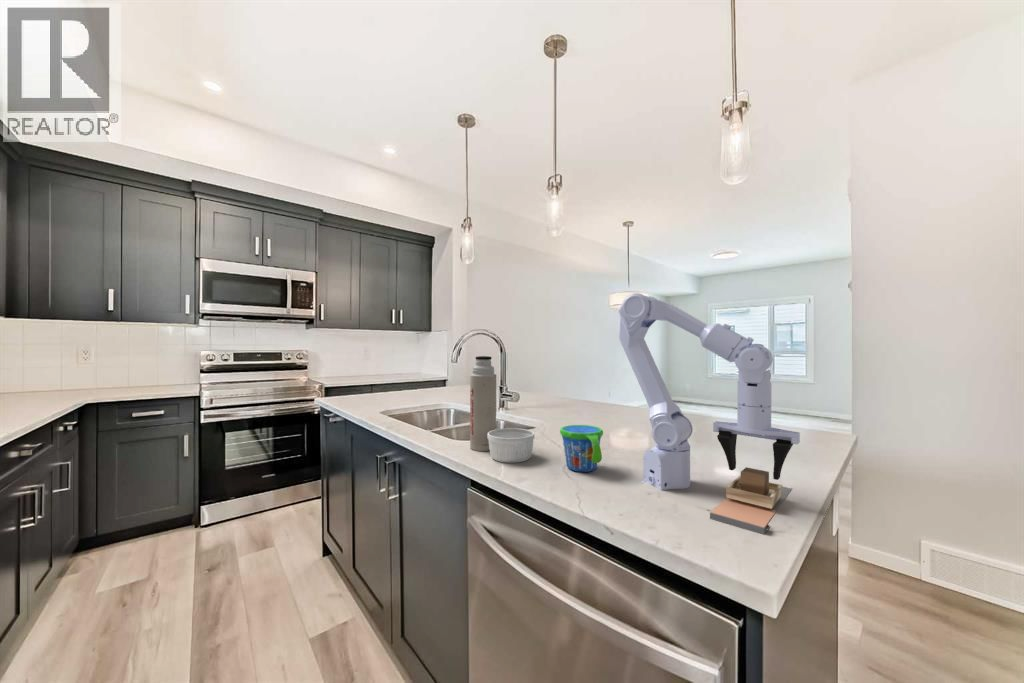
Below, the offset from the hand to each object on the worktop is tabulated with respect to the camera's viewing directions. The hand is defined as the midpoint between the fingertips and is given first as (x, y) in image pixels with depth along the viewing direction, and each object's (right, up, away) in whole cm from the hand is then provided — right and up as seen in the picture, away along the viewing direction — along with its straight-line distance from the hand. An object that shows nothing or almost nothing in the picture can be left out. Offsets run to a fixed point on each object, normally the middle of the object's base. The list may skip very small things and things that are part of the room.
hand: (753, 473), depth 78 cm
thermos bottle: (-57, -6, +42) cm, 71 cm away
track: (0, -6, 0) cm, 6 cm away
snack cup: (-30, -6, +23) cm, 38 cm away
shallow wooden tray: (0, -5, 0) cm, 5 cm away
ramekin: (-48, -7, +32) cm, 58 cm away
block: (0, -4, 0) cm, 4 cm away
